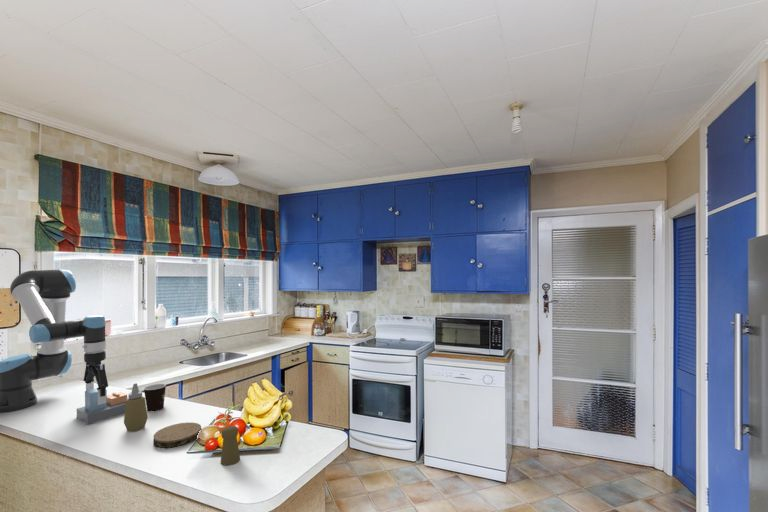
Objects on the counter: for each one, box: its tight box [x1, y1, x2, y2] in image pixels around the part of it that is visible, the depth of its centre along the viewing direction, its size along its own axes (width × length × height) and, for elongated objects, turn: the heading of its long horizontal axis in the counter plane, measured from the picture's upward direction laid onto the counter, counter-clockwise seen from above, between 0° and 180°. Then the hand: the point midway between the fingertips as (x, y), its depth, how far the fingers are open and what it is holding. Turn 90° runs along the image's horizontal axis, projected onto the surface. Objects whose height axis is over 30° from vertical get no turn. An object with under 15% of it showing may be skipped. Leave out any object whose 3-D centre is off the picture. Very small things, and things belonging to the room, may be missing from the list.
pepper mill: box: [220, 425, 241, 467], centre depth 128 cm, size 6×6×11 cm
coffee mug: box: [143, 383, 167, 412], centre depth 178 cm, size 12×9×10 cm
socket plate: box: [76, 397, 129, 425], centre depth 172 cm, size 18×13×4 cm
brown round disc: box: [153, 422, 202, 450], centre depth 146 cm, size 16×16×3 cm
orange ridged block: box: [107, 391, 128, 406], centre depth 175 cm, size 6×6×4 cm
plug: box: [84, 387, 108, 411], centre depth 169 cm, size 6×6×12 cm
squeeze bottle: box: [123, 382, 148, 433], centre depth 156 cm, size 8×8×18 cm
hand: (95, 400), depth 169 cm, fingers open, 13 cm apart
